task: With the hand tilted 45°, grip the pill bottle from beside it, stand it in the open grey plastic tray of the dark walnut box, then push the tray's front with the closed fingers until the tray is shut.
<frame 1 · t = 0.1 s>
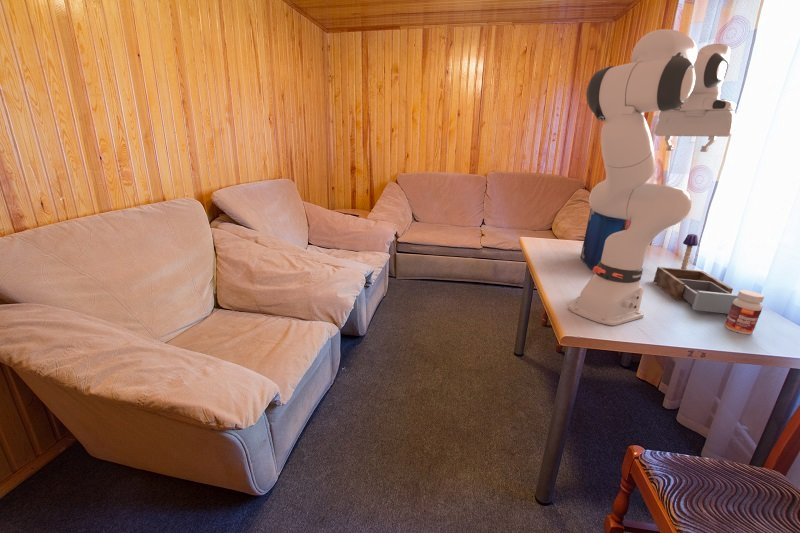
hand: (685, 151, 118), 48 cm above the table, tool pointing down, fingers open, 8 cm apart
book: (594, 268, 153), on the table
tray: (707, 292, 119), point 4 cm above the table, slide at 8.0 cm
pill bottle: (737, 330, 104), on the table
walnut box: (687, 292, 129), on the table
portable speaker: (607, 259, 166), on the table
toy lamp: (681, 274, 149), on the table
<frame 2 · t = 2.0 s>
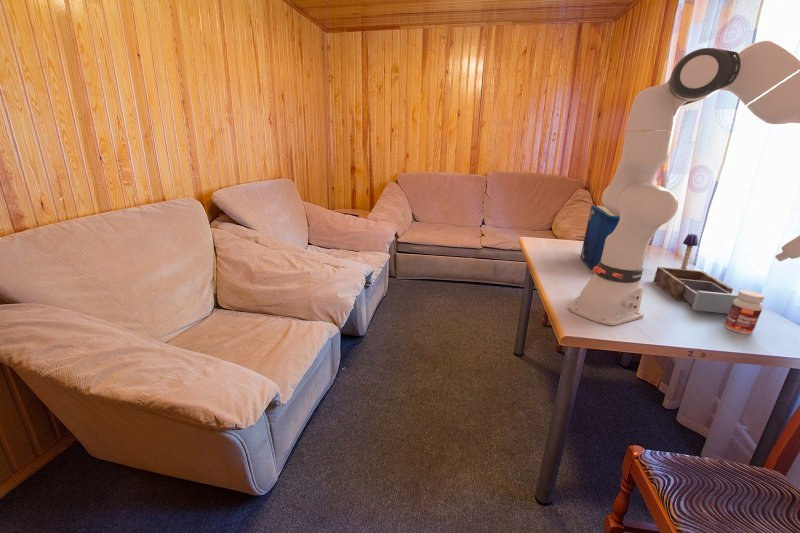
hand: (790, 253, 95), 23 cm above the table, tool tilted 45°, fingers open, 8 cm apart
nothing on the table moved.
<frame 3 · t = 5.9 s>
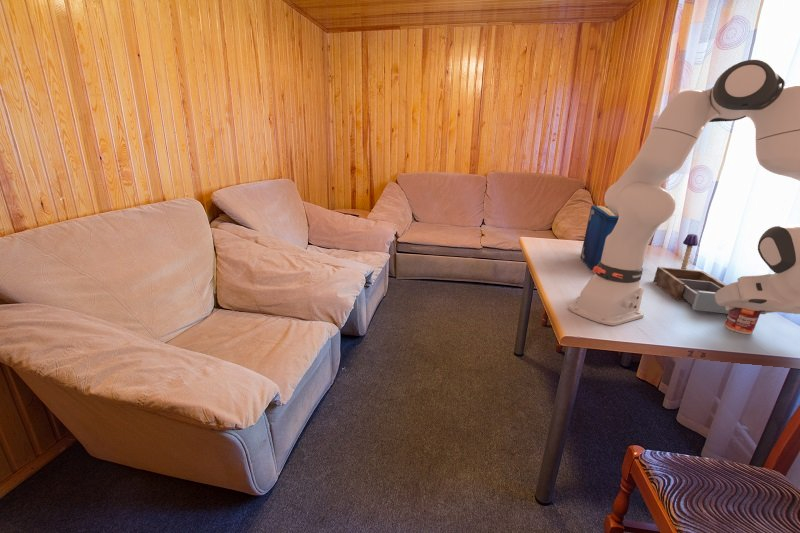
hand: (743, 310, 102), 6 cm above the table, tool tilted 45°, fingers closed on pill bottle, 6 cm apart
pill bottle: (737, 330, 104), on the table, touching gripper
everything else where it was.
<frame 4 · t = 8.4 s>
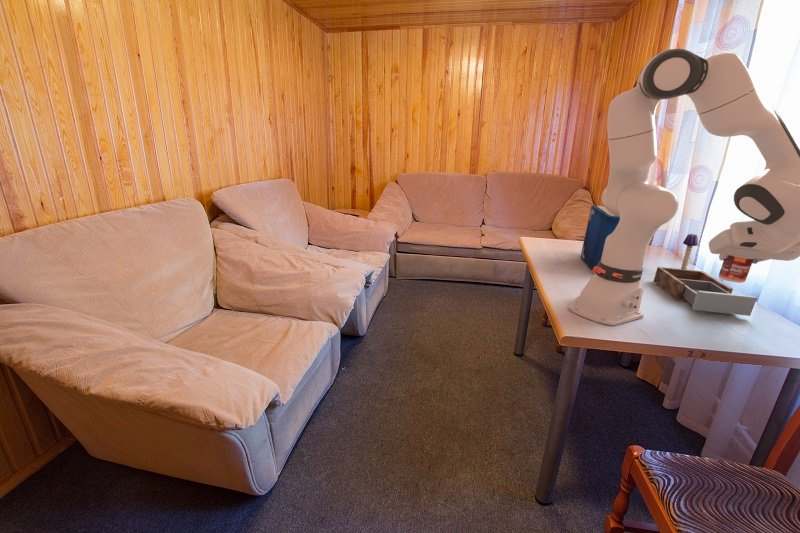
hand: (736, 259, 107), 18 cm above the table, tool tilted 45°, fingers closed on pill bottle, 6 cm apart
pill bottle: (730, 280, 108), point 12 cm above the table, touching gripper
everything else where it was.
when the fingers open (10 cm above the table, at t = 10.9 s): pill bottle drops 2 cm, resting on tray.
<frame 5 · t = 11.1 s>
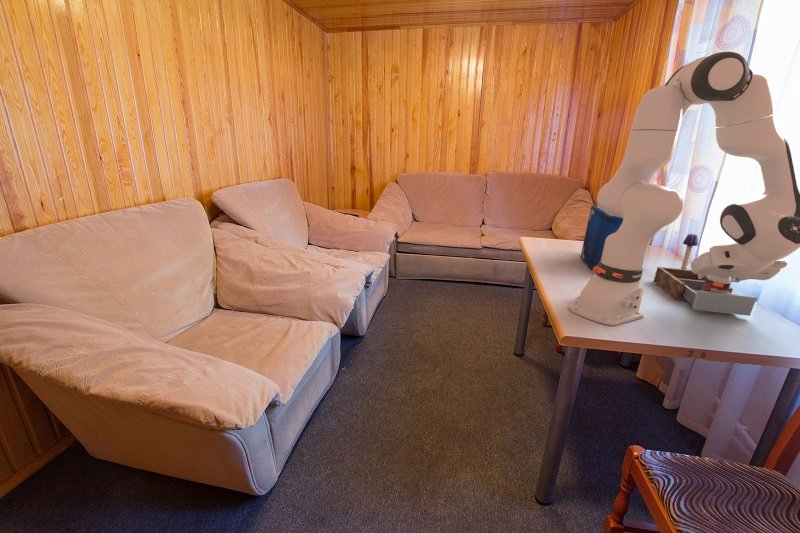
hand: (716, 278, 115), 10 cm above the table, tool tilted 45°, fingers open, 8 cm apart
tray: (706, 292, 119), point 4 cm above the table, slide at 7.9 cm, touching pill bottle
pill bottle: (709, 302, 117), point 2 cm above the table, touching tray
everything else where it was.
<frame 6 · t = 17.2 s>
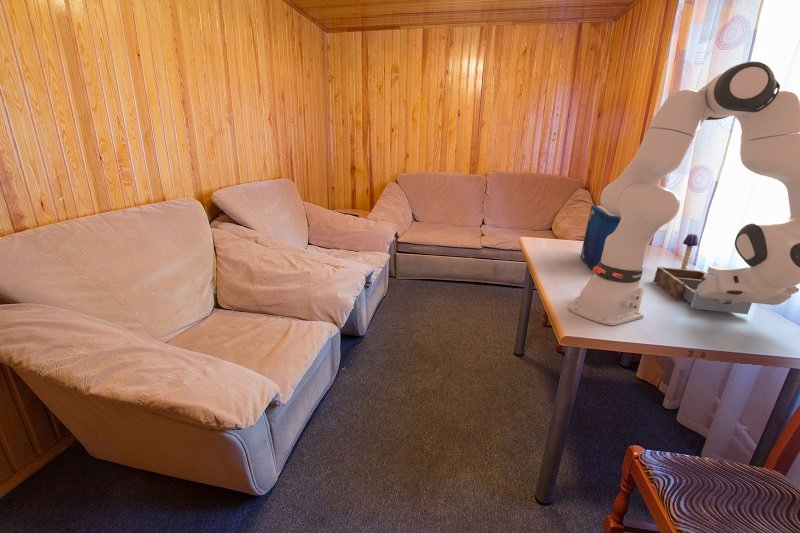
hand: (724, 301, 110), 5 cm above the table, tool tilted 45°, fingers closed, pressing on tray
tray: (705, 290, 120), point 4 cm above the table, slide at 6.8 cm, touching gripper, pill bottle
pill bottle: (707, 301, 118), point 2 cm above the table, touching tray
everything else where it was.
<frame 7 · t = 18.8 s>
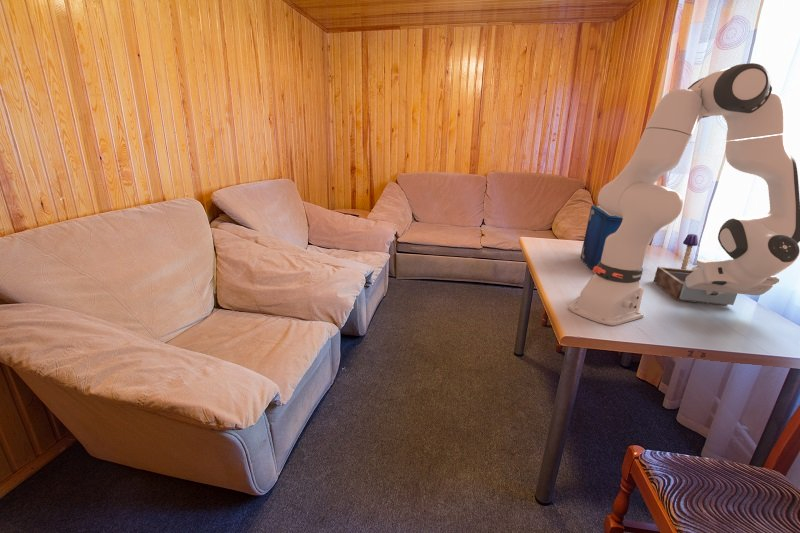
hand: (711, 293, 117), 5 cm above the table, tool tilted 45°, fingers closed, pressing on tray
tray: (694, 283, 126), point 4 cm above the table, slide at -0.1 cm, touching gripper, pill bottle
pill bottle: (696, 293, 124), point 2 cm above the table, touching tray
everything else where it was.
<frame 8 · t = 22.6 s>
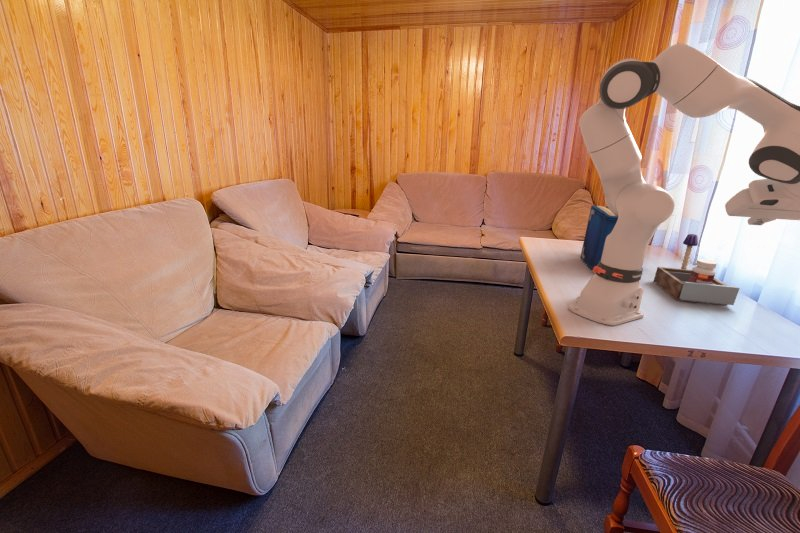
hand: (753, 223, 102), 29 cm above the table, tool tilted 45°, fingers closed
tray: (694, 283, 126), point 4 cm above the table, slide at 0.0 cm, touching pill bottle
everything else where it was.
at the end: tray slide at 0.0 cm; pill bottle 0.3 cm from the target spot on the walnut box, point 1.9 cm above the walnut box's base; pill bottle tilted 0° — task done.
